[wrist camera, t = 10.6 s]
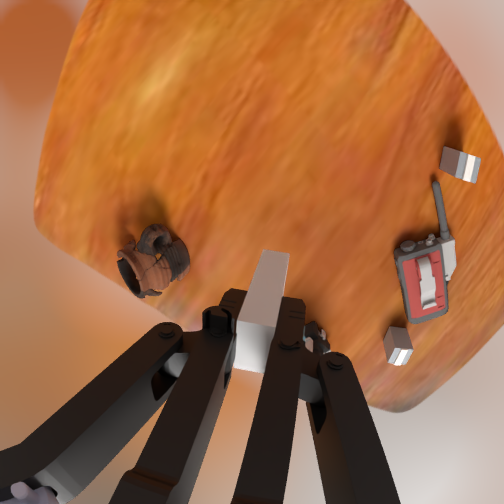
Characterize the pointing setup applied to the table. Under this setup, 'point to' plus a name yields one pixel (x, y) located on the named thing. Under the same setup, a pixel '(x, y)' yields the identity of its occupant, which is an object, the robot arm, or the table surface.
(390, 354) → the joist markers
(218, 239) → the table surface
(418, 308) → the walkie-talkie
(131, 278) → the pottery mug
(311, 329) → the push button
